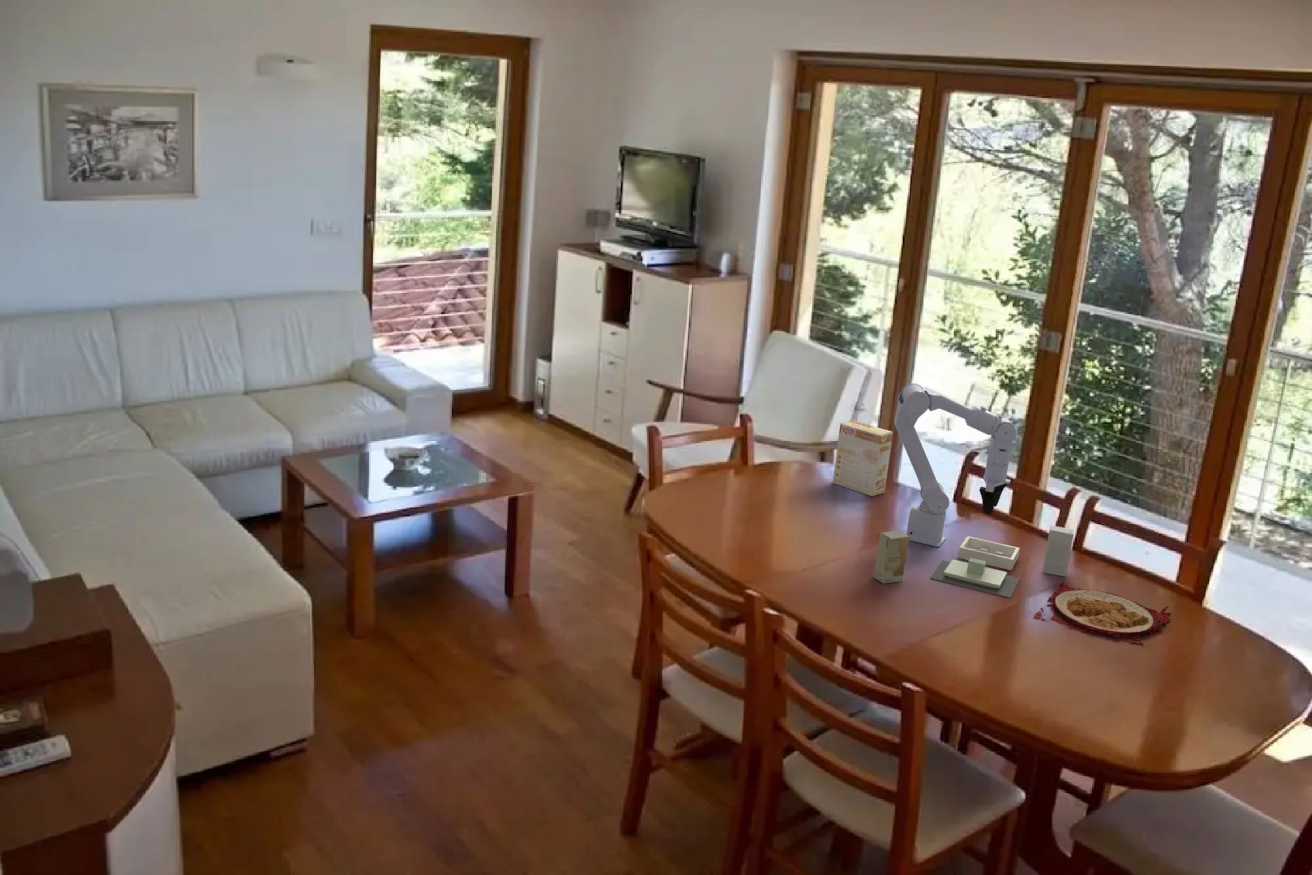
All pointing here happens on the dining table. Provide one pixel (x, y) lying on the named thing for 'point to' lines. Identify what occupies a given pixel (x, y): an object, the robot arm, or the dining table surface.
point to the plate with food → (1104, 613)
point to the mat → (1004, 590)
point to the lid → (975, 573)
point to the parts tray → (989, 552)
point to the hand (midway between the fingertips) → (989, 509)
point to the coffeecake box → (862, 457)
